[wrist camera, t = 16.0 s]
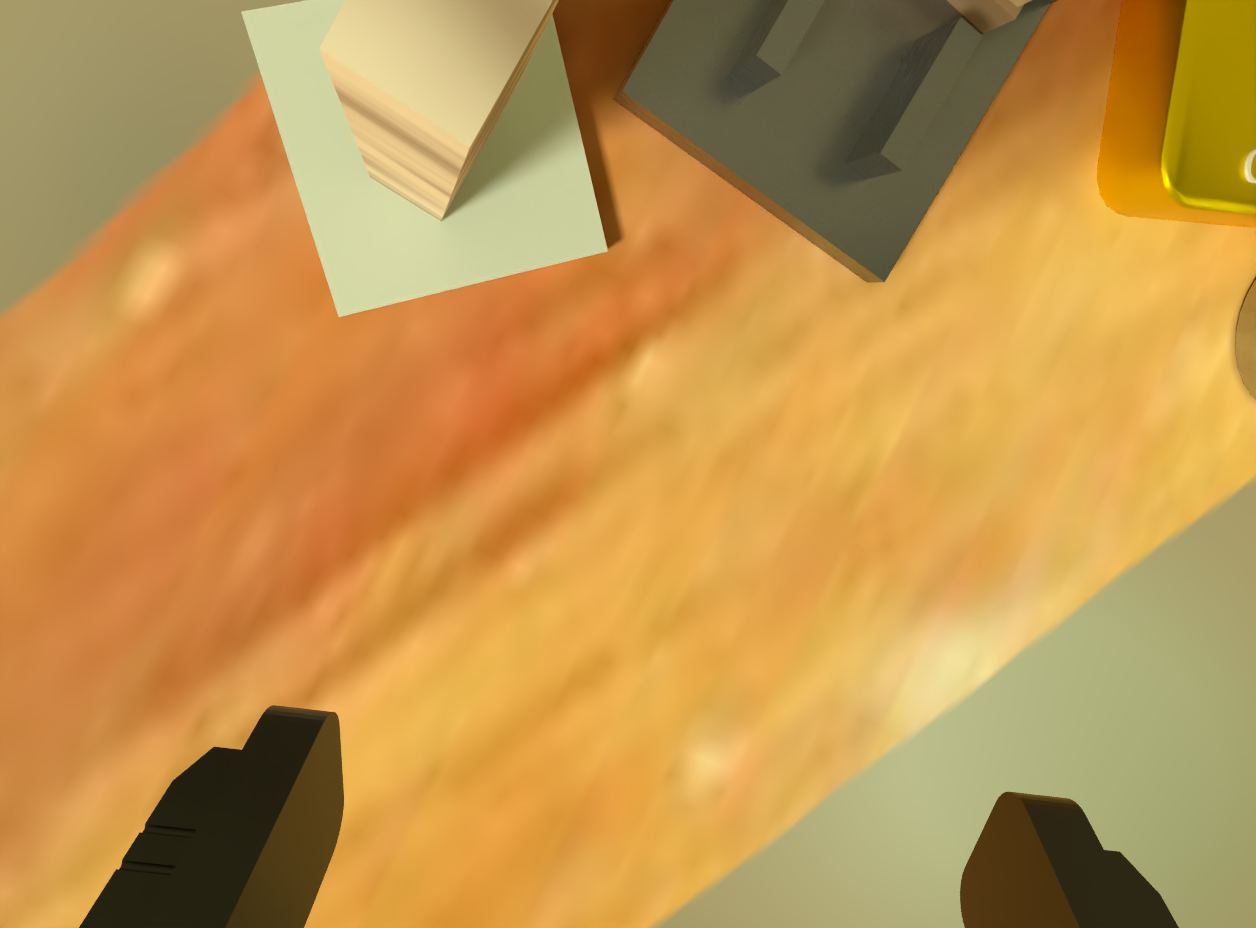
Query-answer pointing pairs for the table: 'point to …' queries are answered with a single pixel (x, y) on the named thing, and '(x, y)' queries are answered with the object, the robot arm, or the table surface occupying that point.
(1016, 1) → the offcut stack
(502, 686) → the table surface
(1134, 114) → the copper element tile
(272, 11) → the mat
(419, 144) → the beige wooden bar
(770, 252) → the table surface
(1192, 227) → the table surface
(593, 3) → the table surface
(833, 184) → the offcut rack
